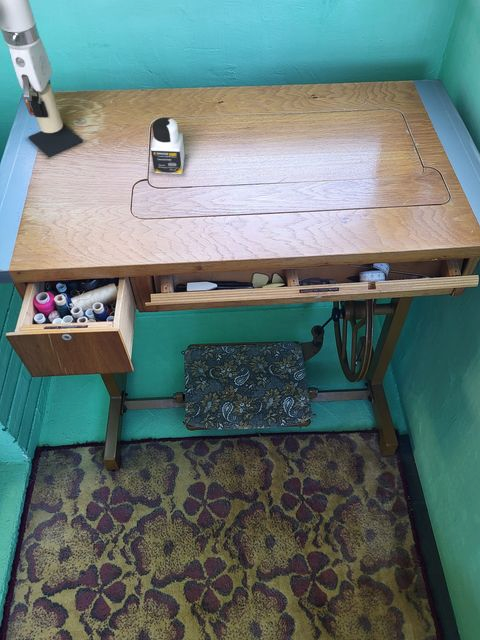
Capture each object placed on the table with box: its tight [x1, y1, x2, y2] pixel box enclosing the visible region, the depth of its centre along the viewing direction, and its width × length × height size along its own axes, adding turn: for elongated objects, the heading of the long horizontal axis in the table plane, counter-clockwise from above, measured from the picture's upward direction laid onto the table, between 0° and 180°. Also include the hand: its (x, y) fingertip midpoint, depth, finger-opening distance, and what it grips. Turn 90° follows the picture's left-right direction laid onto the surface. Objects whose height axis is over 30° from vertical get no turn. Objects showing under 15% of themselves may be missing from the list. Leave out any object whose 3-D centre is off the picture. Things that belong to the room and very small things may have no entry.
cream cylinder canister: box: [22, 83, 64, 133], centre depth 131 cm, size 8×6×10 cm
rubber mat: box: [28, 123, 83, 158], centre depth 138 cm, size 10×10×1 cm
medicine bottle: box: [150, 117, 186, 175], centre depth 130 cm, size 7×7×12 cm
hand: (45, 107), depth 131 cm, fingers closed on cream cylinder canister, 6 cm apart
